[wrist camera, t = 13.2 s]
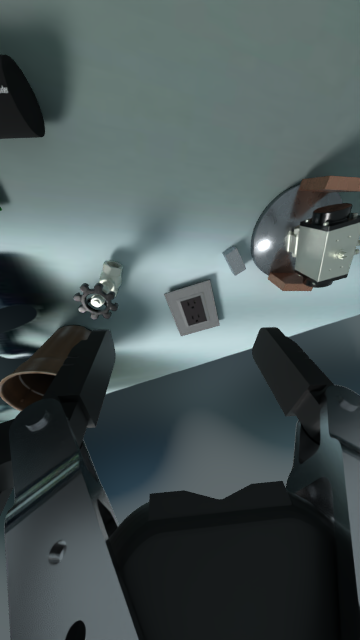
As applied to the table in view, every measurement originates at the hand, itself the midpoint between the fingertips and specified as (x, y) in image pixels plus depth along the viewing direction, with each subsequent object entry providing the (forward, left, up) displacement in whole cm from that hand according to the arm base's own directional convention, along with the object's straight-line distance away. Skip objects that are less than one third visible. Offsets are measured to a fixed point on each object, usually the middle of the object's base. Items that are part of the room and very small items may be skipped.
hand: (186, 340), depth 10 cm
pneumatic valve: (-1, +25, -29) cm, 38 cm away
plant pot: (+27, -24, -30) cm, 47 cm away
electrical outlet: (+16, +6, -31) cm, 35 cm away
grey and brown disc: (-1, +25, -30) cm, 39 cm away
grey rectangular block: (+4, +14, -30) cm, 33 cm away
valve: (+8, -12, -30) cm, 34 cm away
